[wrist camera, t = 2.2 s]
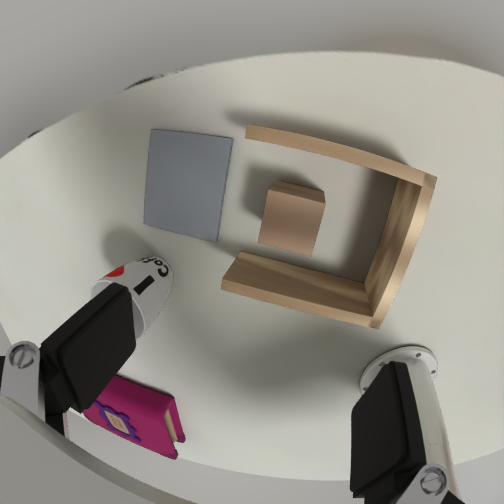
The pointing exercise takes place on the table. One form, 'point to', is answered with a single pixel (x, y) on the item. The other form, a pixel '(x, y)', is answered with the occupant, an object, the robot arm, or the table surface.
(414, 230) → the oak u-shaped frame
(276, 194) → the block
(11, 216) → the table surface
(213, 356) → the table surface
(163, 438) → the book
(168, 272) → the cup
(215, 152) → the mat
